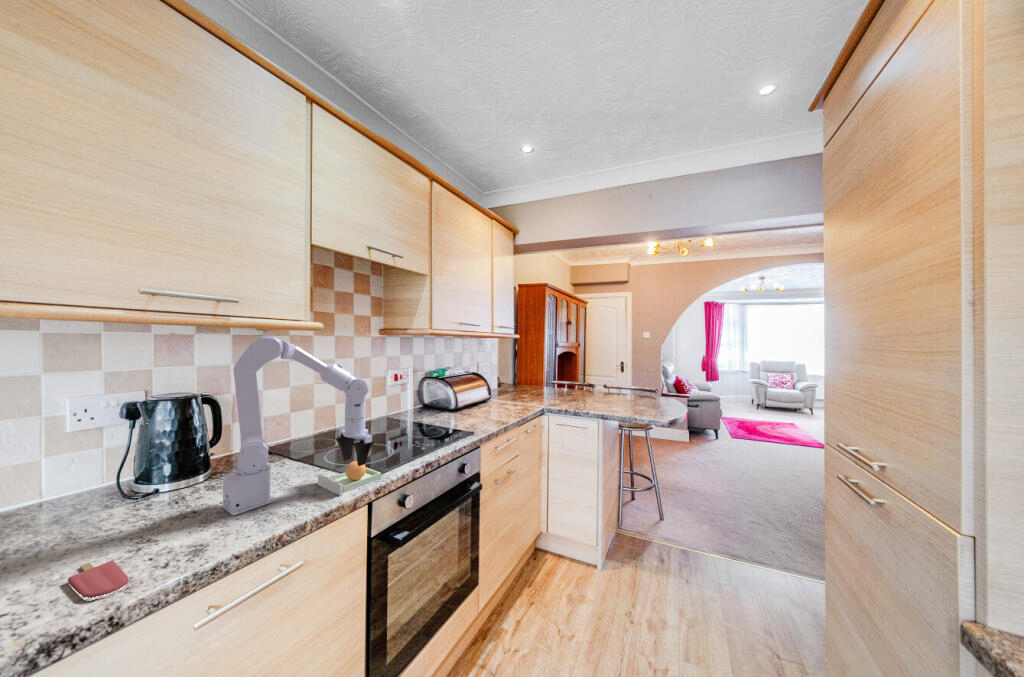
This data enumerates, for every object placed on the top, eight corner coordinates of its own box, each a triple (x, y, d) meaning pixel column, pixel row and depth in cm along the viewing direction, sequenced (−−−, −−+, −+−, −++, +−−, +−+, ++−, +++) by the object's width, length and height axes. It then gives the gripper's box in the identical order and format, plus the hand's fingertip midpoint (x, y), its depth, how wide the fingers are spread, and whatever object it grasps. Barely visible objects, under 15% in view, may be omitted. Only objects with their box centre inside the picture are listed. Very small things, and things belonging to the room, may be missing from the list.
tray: (344, 492, 95) (344, 486, 95) (326, 483, 100) (326, 478, 100) (381, 477, 105) (381, 472, 105) (363, 470, 110) (363, 466, 110)
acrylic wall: (340, 495, 93) (340, 484, 93) (317, 484, 100) (318, 474, 100) (342, 494, 93) (342, 484, 93) (319, 484, 100) (320, 474, 100)
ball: (350, 486, 99) (353, 469, 98) (340, 477, 102) (343, 460, 101) (367, 480, 104) (371, 463, 103) (357, 471, 107) (360, 455, 106)
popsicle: (106, 552, 66) (133, 578, 59) (106, 560, 66) (133, 587, 59) (61, 569, 61) (85, 599, 54) (61, 577, 61) (85, 609, 54)
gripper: (381, 418, 102) (380, 463, 102) (353, 412, 110) (353, 453, 110) (359, 423, 96) (358, 470, 96) (332, 416, 104) (331, 459, 104)
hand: (354, 462), depth 103 cm, fingers open, 7 cm apart
